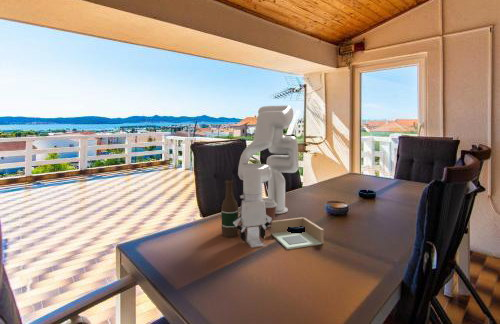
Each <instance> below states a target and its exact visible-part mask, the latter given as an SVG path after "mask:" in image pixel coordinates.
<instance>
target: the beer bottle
mask: <svg viewBox="0 0 500 324" xmlns="http://www.w3.org/2000/svg"><path fill="white" fill-rule="evenodd" d="M234 194H235V193H234V180H233V179H226V180H225V197H224V199H223V201H222V204H221V212H220V213H221V236H222V237H226V238H234V237H236V236H237V237H238V236H239V229H238V228H237V227H236V226H235V225H234V224H233V221H234V220H236V219H237V218H238V217H239V205H238V202H237V200H236V199H235V195H234Z"/></svg>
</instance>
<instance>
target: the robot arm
mask: <svg viewBox="0 0 500 324" xmlns="http://www.w3.org/2000/svg"><path fill="white" fill-rule="evenodd" d="M257 111H258V112H257V114H258V115H257V118H256V123H255V129H254V135H253V140H252V142H251V143H250V144H248V145H247V146H246V147H245V149H244V150H243V151H242V153H241V155H240V159H239V163H238V169H237V170H238V171H237V175H238V177H239V179H240V180H242V181H243V182H242V184H243V186H242V188H243V190H242V191H243V192H242V194H241V195H239V199H242V200H241V204H240V210H239V215H238V218H237V219H236V220H234V221H233V224H234V225H235V226H236V227H237V228H238V231H239V233H240V235H239V236H240V240H241V241H242V242H246V232H245V229H247V228H248V227H257V226H258V227H259V238H261V239H262V240H265V236H266V230H267V228H268V227H267V226H268V225H269V223H270V222H271V220H272V218H271V217H269V216H268V215H266V209H265V203H264V200H263V199H264V198H263V183H267V199H274V200H275V202H276V203H277V206H276V208H275V215H276V214H278V215H279V214H285V213H287V212H288V210H289V209H288V207H287V206H286V179H285V177H284V175H283V173H284V174H285V173H288V174H294V173H296V172H297V171H298V170H299V166H300V165H299V143H298V139H297V138H296V137H295V136H292V135H284V130H286V129H287V128H289V127H290V124H291V123H292V121H293V118H294V109H293V108H292V107H291V106H290V105H265V106H261V107H260V108H259V109H258V110H257ZM267 149H268V151H269V153H270V154H272V155H270V156H268V157H267V158H266V164H265V163H262V164H261V163H249V162H250V159H251V158H252V157H253V156H254V155H256V154H258V153H259V152H262V151H264V150H267ZM266 218H267V221H266ZM239 222H240V223H241V224H240V225H239Z"/></svg>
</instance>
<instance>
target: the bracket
mask: <svg viewBox="0 0 500 324" xmlns="http://www.w3.org/2000/svg"><path fill="white" fill-rule="evenodd" d="M246 243H247V244H248V246H249V247H250V248H259V247H264V242H263V241H262V240H261V239H260V226H251V227H246Z"/></svg>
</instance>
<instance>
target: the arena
mask: <svg viewBox="0 0 500 324" xmlns="http://www.w3.org/2000/svg"><path fill="white" fill-rule="evenodd" d="M300 226H304V227H305V232H302V233H291V232H288V231H287V229H288V227H300ZM270 230H271V231H270V235H272V236H273V237H274V239H276V241H278V242H279V243H280V244H281V246H282V247H284V248H285V249H286V250H293V249H300V248H305V247H306V248H307V247H312V246H319V245H324V237H325V236H324V235H325V229H324V228H322V227H321V226H319V225H317V224H316V223H315V222H313V221H311V220H309V219H308V218H307V217H304V216H302V217H294V218H287V219H285V218H284V219H277V220H276V219H275V220H274V221H271V228H270Z"/></svg>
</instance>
